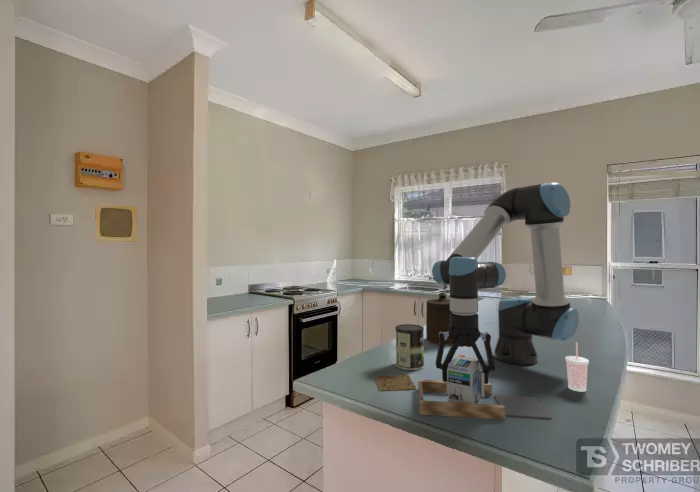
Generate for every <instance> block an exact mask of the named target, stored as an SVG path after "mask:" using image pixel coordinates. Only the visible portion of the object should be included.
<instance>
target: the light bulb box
mask: <svg viewBox="0 0 700 492" xmlns="http://www.w3.org/2000/svg"><path fill="white" fill-rule="evenodd" d="M479 370H482V367H481V365H480V363H479V361H478V359H477V356H471V355H466V354H461V353H458V354H456V355H454V357H453V358H452V361H451V362H450V363H449V364H448V395H447V396H448V399H447V400H448V402H457V403H474V404H477V402H478V401H479V399H480V398H481V394H480V378H479Z"/></svg>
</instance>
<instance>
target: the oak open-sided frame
mask: <svg viewBox="0 0 700 492" xmlns="http://www.w3.org/2000/svg"><path fill="white" fill-rule="evenodd" d="M417 381H418V382H417V383H418V384H417V387H418V388H417V390H418V399H419V400H418V404H419V415H425V416H426V415H427V416H441V417H442V416H443V417H458V418H469V419H471V418H472V419H486V420H500V421H505V420H506V416H505V407H504V405H499V404H488V403H476V404H474V403H457V402H449V401H439V400H438V401H437V400H424V392H425V393H444V394H447V389H446V382H443V380H437V379H436V380H435V379H434V380H433V379H419V378H418V379H417ZM492 386H493V385H492V383H491V382H488V384H484V391H485V396H492V394H493V393H492V392H493V391H492V389H493V387H492Z"/></svg>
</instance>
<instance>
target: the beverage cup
mask: <svg viewBox="0 0 700 492" xmlns="http://www.w3.org/2000/svg"><path fill="white" fill-rule="evenodd" d="M578 343H579V342H577V341H575V355H566V356H565V361H566V372H567V373H566V375H567V387H568V389H569V390H571V391H575V392H581V393H584V392H586V391H587V385H588V384H587V383H588V369H589V368H588V367H589V364H590V361H589V359H588V358H586V357H582V356H579V348H578V345H579V344H578Z"/></svg>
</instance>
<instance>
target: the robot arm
mask: <svg viewBox="0 0 700 492" xmlns="http://www.w3.org/2000/svg"><path fill="white" fill-rule="evenodd" d="M568 193H569V192H568V191H567V189H566V188H565V187H564V186H563V185H562V184H561V183H558V182H546V183H545V182H544V183H540V184H533V185H527V186H521V187H514V188H511V189H509V190H507V191H505V192H503V193H502V194H501V195H499V196H497V197H496V198H495V199H494V200H493V201H491V203H490V204H489V205H488V206H487V207H486V208H485V210H484V213H483V216H482V218H480V219H479V221H478V222H477V223H476V224H475V226H474V227H473V228H472V229H471V230H470V231H469V232H468V234H467V235H466V236H465V238H463V240H462V241H461V242H460V243H459V245H458V246H456V248H455V249H454V251H452V253H451V254H450V255H449V256H448V257H447V258H446V260H443V259H442V260H437V261H436V262H435V263H434V264H433V266H432V269H431V274H432V278H433V279H434V281H435V282H437V283H439V284H444V285H449V300H450V311H451V313H450V329H449V331H448V332H442V331H440V332H439V338H440V341H439V345H438V348H437V354H436V357H435V358H436V359H435V366H436V369H440V370H441V371H442V372H441V374H442V376H441V379H442V381H443V382H446V389H447V393H446V395H447V396H448V364H449V363H450V362H451V361H452V360H453V359H454V357H455V353H456V352H457V350H458V348H463V347H466V348H472V350H473V352H474V355H475V357H477V359H478V361H479V363H480V365H481V370H479V378H480V394H481V396H480V398H485V396H486V395H485V391H484V384H488V383H489V373H490V372H491V371H493V372H494V371H495V370H496V364H495V359H496V360H498V361H500V362H504V363H507V364H512V365H525V366H528V365H535V364H537V363H538V362H539V360H538V359H539V358H538V357H539V355H538V352H537V349H536V347H535V343H534V340H533V336H535V337H540V338H546V339H549V340H553V341H560V342H568V341H569V340H571V339H572V338H574V337H575V335H576V332H577V330H578V327H579V322H580V315H579V312H578V310H577V309H576V307H575V308H574V307H571V300H570V299H569V298H568V297H566V296H565V290H564V289H565V287H564V275H563V262H562V248H561V237H560V235H561V234H560V226H561V225H562V224H563V223H564V221H565V220H564V218H566V217H567V216H568V215H569V214H570V211H571V210H570V209H571V200H570V195H569V194H568ZM519 220H524V225H525V226H526V227H527V228H528V229H529V230H530V238H531V239H530V240H531V249H532V263H533V274H534V285H535V297H534V298H531V297H513V298H512V297H510V298H509V297H508V298H503V299H500V300H499V302H498V308H497V309H498V310H497V312H498V313H497V315H498V338H497V341H496V345H495V347H494V350H492V347H491V339H492V336H491V334H490V333H489V332H481V331H480V329H479V314H478V312H479V290H482V289H490V288H491V289H494V288H497V287H501V286H502V285H503V284H504V283H505V281H506V278H507V274H506V270H505V268H504V266H503V265H502V264H500V263H499V262H497V261H496V262H495V261H485V262H481V261H478V260H479V257H481V255H482V254H483V253H484V251H485V250H486V249H487V248H488V246H489V245H490V244H491V242H492V241H493V240H494V239H495V238H496V237H497V235H498V234H499V233H500V231H501V230H502V229H504V228H506V227H508V226H509V224H510V223H512V222H515V221H519ZM448 336H450V337H451V339H452V340H453V342H452V344H451V345H450V347H449V349H448V352H447V354H446V356H445V359H444V361H443V355H444V350H445V346H446V345H445V340H447V337H448ZM479 338H481V340H482V341H483V344H484V345H483V346H484V349H485V354H486V360H487V363H488V364H486V362H485V360H484V358H483V356H482V354H481V352H480V350H479V348H478V345H477V344H476V343H477V341H478V340H479ZM492 351H493V352H492ZM494 358H495V359H494ZM442 362H443V363H442Z"/></svg>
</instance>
